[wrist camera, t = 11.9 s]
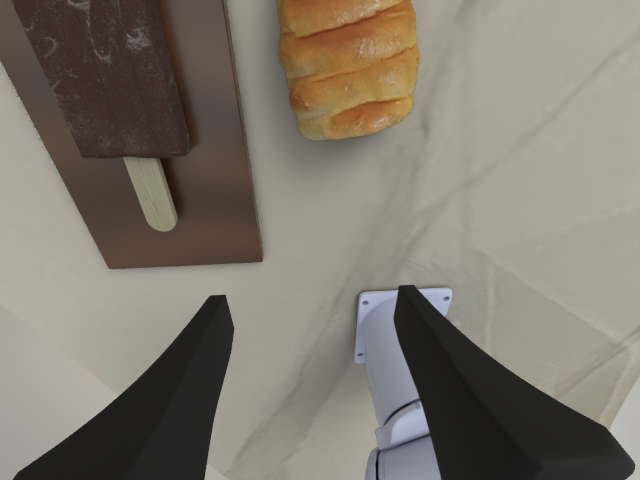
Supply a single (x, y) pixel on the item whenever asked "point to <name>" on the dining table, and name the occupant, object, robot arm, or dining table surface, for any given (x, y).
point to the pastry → (348, 64)
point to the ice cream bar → (114, 87)
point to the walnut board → (180, 172)
